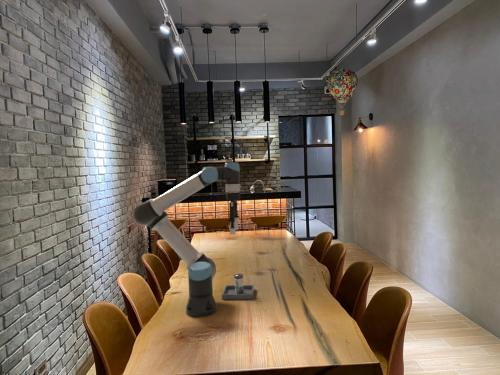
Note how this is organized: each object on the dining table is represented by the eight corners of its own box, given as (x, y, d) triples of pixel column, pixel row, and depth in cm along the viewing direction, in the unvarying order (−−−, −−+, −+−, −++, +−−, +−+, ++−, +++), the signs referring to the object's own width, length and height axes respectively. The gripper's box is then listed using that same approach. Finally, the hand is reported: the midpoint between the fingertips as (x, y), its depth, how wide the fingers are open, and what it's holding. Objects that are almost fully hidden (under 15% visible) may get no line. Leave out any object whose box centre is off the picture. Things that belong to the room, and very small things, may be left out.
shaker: (234, 294, 204) (233, 276, 204) (235, 291, 210) (234, 273, 209) (243, 294, 204) (242, 276, 203) (244, 291, 209) (243, 273, 208)
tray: (222, 299, 199) (221, 294, 199) (225, 289, 215) (225, 285, 215) (252, 299, 198) (252, 294, 198) (254, 289, 214) (254, 285, 214)
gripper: (238, 193, 181) (239, 236, 183) (242, 190, 206) (243, 228, 207) (222, 193, 182) (224, 236, 183) (228, 190, 207) (229, 228, 208)
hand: (234, 232), depth 195 cm, fingers open, 13 cm apart
